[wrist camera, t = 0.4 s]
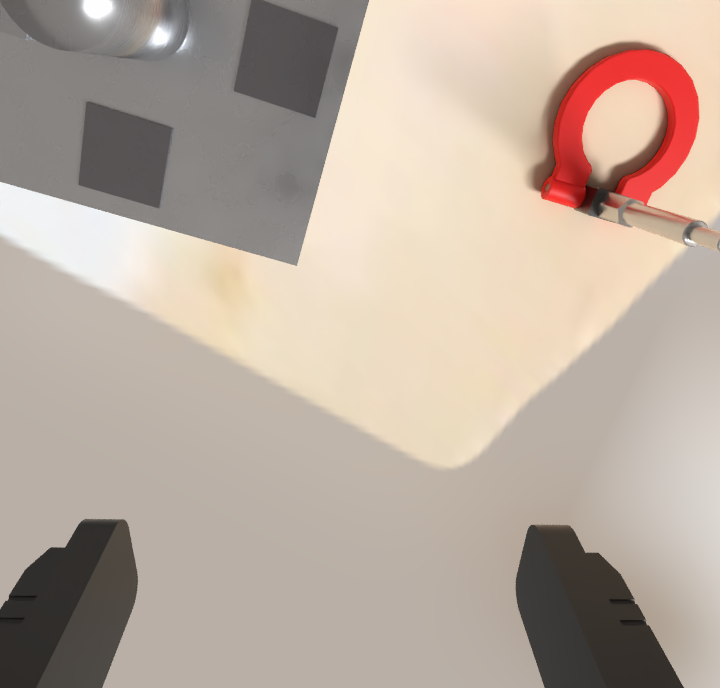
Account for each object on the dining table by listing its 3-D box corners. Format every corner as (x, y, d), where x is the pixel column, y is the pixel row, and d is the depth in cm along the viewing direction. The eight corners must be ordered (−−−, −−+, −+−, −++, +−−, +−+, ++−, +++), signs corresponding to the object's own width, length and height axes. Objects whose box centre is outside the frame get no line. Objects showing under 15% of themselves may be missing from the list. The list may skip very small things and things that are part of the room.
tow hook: (585, 31, 31) (523, 194, 34) (747, -21, 19) (628, 236, 22) (713, 76, 32) (642, 229, 36) (940, 54, 20) (800, 286, 24)
